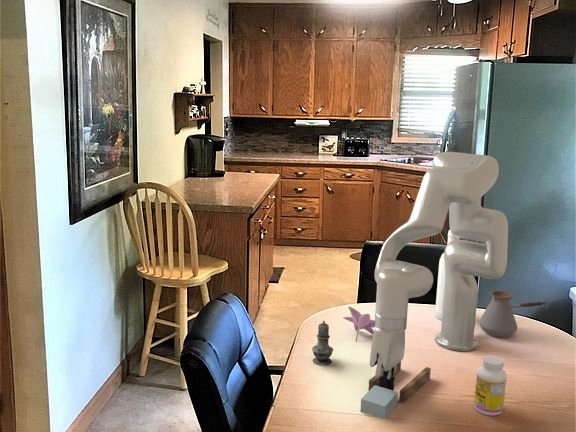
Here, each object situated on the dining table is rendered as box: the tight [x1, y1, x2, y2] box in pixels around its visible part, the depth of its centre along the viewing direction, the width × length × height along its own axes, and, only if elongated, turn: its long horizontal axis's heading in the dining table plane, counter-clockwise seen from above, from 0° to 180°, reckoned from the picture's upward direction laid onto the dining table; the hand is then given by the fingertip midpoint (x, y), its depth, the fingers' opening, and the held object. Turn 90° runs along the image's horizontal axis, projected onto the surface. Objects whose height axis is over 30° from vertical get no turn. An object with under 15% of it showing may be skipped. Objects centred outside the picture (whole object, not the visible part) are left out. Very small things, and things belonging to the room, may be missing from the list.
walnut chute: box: [367, 360, 431, 404], centre depth 154 cm, size 16×10×3 cm, turn 144°
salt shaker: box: [311, 320, 334, 366], centre depth 166 cm, size 6×6×12 cm
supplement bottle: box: [473, 355, 507, 416], centre depth 142 cm, size 7×7×13 cm
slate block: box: [360, 385, 399, 420], centre depth 143 cm, size 8×6×4 cm
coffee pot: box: [478, 290, 549, 339], centre depth 184 cm, size 21×12×15 cm, turn 34°
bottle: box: [434, 229, 460, 322], centre depth 198 cm, size 8×8×30 cm
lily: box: [343, 306, 376, 342], centre depth 183 cm, size 12×12×10 cm
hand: (386, 390), depth 148 cm, fingers closed
